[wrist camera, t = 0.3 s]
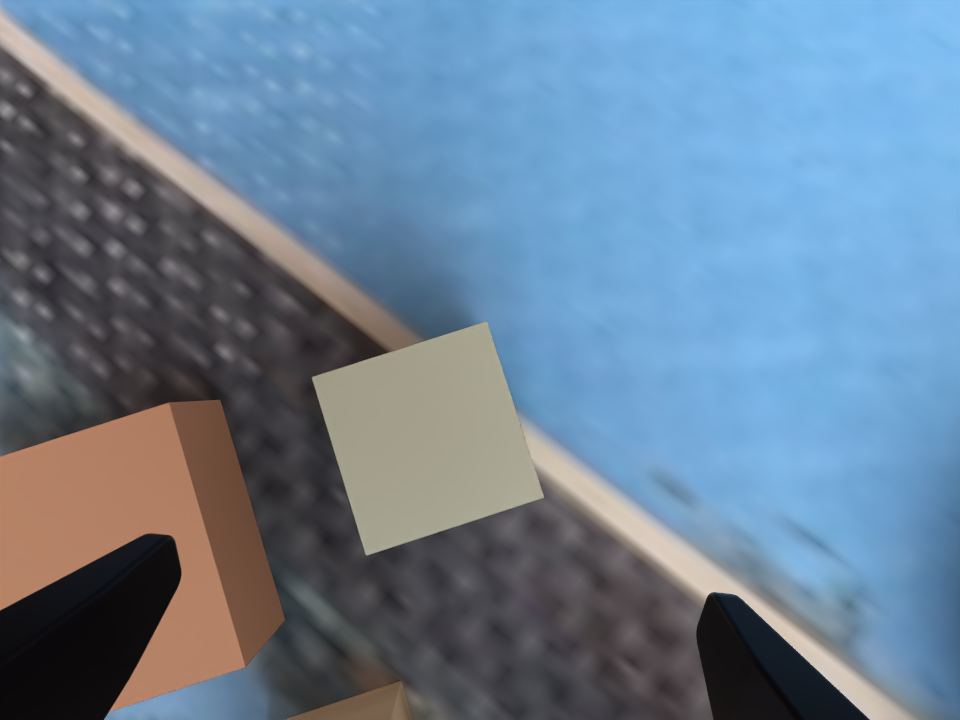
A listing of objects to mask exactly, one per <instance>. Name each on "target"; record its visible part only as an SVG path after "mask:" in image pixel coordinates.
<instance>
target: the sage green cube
mask: <svg viewBox="0 0 960 720" xmlns="http://www.w3.org/2000/svg"><path fill="white" fill-rule="evenodd" d="M312 380H313V383H314V386H315V390H316V393H317V396H318V399H319V403H320V406H321V409H322V413H323V416H324V419H325V422H326V426H327V429H328V432H329V436H330V439H331V442H332V445H333V449H334V452H335V455H336V459H337V462H338V465H339V468H340V472H341V475H342V478H343V481H344V485H345V488H346V491H347V495H348V498H349V501H350V504H351V508H352V511H353V514H354V518H355V521H356V524H357V527H358V531H359V534H360V537H361V541H362V544H363V547H364V550H365V554H366V556H367V555H370V554H373V553H376V552H379V551H382V550H385V549H388V548H391V547H394V546H397V545H400V544H403V543H407V542H410V541H413V540H416V539H419V538H422V537H425V536H428V535H431V534H434V533H437V532H440V531H443V530H446V529H449V528H452V527H455V526H459V525H462V524H465V523H468V522H471V521H474V520H477V519H480V518H483V517H486V516H489V515H492V514H495V513H498V512H501V511H504V510H507V509H511V508H514V507H517V506H520V505H523V504H526V503H529V502H532V501H535V500H538V499H541V498H544V496H543V493H542V490H541V487H540V483H539V480H538V477H537V474H536V471H535V468H534V465H533V462H532V459H531V456H530V453H529V450H528V446H527V443H526V440H525V437H524V434H523V431H522V428H521V425H520V422H519V419H518V416H517V413H516V409H515V406H514V403H513V400H512V397H511V394H510V391H509V388H508V385H507V382H506V379H505V376H504V372H503V369H502V366H501V363H500V360H499V357H498V354H497V351H496V348H495V345H494V342H493V339H492V335H491V332H490V329H489V326H488V323H487V321H486V322H483V323H480V324H477V325H473V326H470V327H467V328H464V329H461V330H458V331H455V332H452V333H448V334H445V335H442V336H439V337H436V338H433V339H430V340H427V341H423V342H420V343H417V344H414V345H411V346H408V347H405V348H402V349H398V350H395V351H392V352H389V353H386V354H383V355H380V356H377V357H374V358H370V359H367V360H364V361H361V362H358V363H355V364H352V365H349V366H345V367H342V368H339V369H336V370H333V371H330V372H327V373H324V374H320V375H317V376H314V377H312Z"/></svg>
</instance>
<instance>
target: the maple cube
mask: <svg viewBox="0 0 960 720" xmlns="http://www.w3.org/2000/svg"><path fill="white" fill-rule="evenodd" d="M284 720H413V719H412V715H411V712H410V709H409V706H408V702H407V699H406V696H405V693H404V689H403V686H402V683H401V681H399V682H396V683H393V684H390V685H387V686H384V687H381V688H378V689H375V690H372V691H369V692H366V693H363V694H360V695H357V696H354V697H351V698H348V699H345V700H342V701H339V702H336V703H333V704H330V705H327V706H324V707H321V708H318V709H315V710H312V711H309V712H306V713H303V714H300V715H297V716H294V717H291V718H288V719H284Z"/></svg>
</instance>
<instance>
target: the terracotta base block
mask: <svg viewBox="0 0 960 720" xmlns="http://www.w3.org/2000/svg"><path fill="white" fill-rule="evenodd" d="M148 533H155V534H164V535H170V536H172V537H173V538H174V539H175V542H176V546H177V551H178V555H179V560H180V565H181V570H182V575H181V581H180V584H179V586H178V588H177V590H176V592H175V594H174V596H173V598H172V600H171V602H170V604H169V606H168V608H167V609H166V611H165V613H164V615H163V617H162V619H161V621H160V623H159V625H158V627H157V629H156V630H155V632H154V634H153V636H152V638H151V640H150V642H149V644H148V646H147V648H146V650H145V652H144V653H143V655H142V657H141V659H140V661H139V663H138V665H137V667H136V668H135V670H134V672H133V674H132V676H131V677H130V679H129V681H128V682H127V684H126V686H125V687H124V689H123V690H122V692H121V694H120V695H119V697H118V698H117V700H116V702H115V703H114V705H113V706H112V708H111V709H110V711H109V712H111V711H114V710H117V709H120V708H123V707H126V706H129V705H132V704H135V703H138V702H141V701H144V700H147V699H150V698H153V697H156V696H159V695H162V694H166V693H169V692H172V691H175V690H178V689H181V688H184V687H187V686H190V685H193V684H196V683H199V682H202V681H205V680H208V679H211V678H214V677H217V676H220V675H223V674H226V673H230V672H233V671H236V670H239V669H242V668H245V667H246V666H247V665H248V664H249V663H250V661H251V660H252V659H253V658H254V657H255V655H256V654H257V653H258V652H259V651H260V649H261V648H262V647H263V646H264V645H265V643H266V642H267V641H268V640H269V639H270V637H271V636H272V635H273V634H274V633H275V631H276V630H277V629H278V628H279V627H280V625H281V624H282V623H283V622H284V621H285V617H284V614H283V610H282V607H281V604H280V600H279V597H278V594H277V590H276V587H275V583H274V580H273V577H272V573H271V570H270V567H269V563H268V560H267V556H266V553H265V550H264V546H263V543H262V539H261V536H260V533H259V529H258V526H257V523H256V519H255V516H254V512H253V509H252V506H251V502H250V499H249V495H248V492H247V489H246V485H245V482H244V479H243V475H242V472H241V468H240V465H239V462H238V458H237V455H236V451H235V448H234V445H233V441H232V438H231V435H230V431H229V428H228V424H227V421H226V418H225V414H224V411H223V408H222V404H221V401H220V400H206V401H188V402H170V403H166V404H163V405H160V406H157V407H153V408H150V409H147V410H144V411H141V412H138V413H135V414H132V415H129V416H125V417H122V418H119V419H116V420H113V421H110V422H107V423H104V424H100V425H97V426H94V427H91V428H88V429H85V430H82V431H79V432H75V433H72V434H69V435H66V436H63V437H60V438H57V439H54V440H50V441H47V442H44V443H41V444H38V445H35V446H32V447H29V448H25V449H22V450H19V451H16V452H13V453H10V454H7V455H4V456H0V610H2V609H4V608H5V607H7V606H9V605H11V604H13V603H15V602H17V601H19V600H21V599H23V598H24V597H26V596H28V595H30V594H32V593H34V592H36V591H38V590H40V589H41V588H43V587H45V586H47V585H49V584H51V583H53V582H55V581H57V580H59V579H60V578H62V577H64V576H66V575H68V574H70V573H72V572H74V571H76V570H77V569H79V568H81V567H83V566H85V565H87V564H89V563H91V562H93V561H95V560H96V559H98V558H100V557H102V556H104V555H106V554H108V553H110V552H112V551H114V550H115V549H117V548H119V547H121V546H123V545H125V544H127V543H129V542H131V541H132V540H134V539H136V538H138V537H140V536H142V535H144V534H148Z"/></svg>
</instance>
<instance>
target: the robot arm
mask: <svg viewBox="0 0 960 720" xmlns="http://www.w3.org/2000/svg"><path fill="white" fill-rule="evenodd" d="M181 575H182V570H181V565H180V560H179V555H178V551H177V546H176V542H175V539H174V538H173V537H172V536H170V535H164V534H155V533H148V534H144V535H142V536H140V537H138V538H136V539H134V540H132V541H131V542H129V543H127V544H125V545H123V546H121V547H119V548H117V549H115V550H114V551H112V552H110V553H108V554H106V555H104V556H102V557H100V558H98V559H96V560H95V561H93V562H91V563H89V564H87V565H85V566H83V567H81V568H79V569H77V570H76V571H74V572H72V573H70V574H68V575H66V576H64V577H62V578H60V579H59V580H57V581H55V582H53V583H51V584H49V585H47V586H45V587H43V588H41V589H40V590H38V591H36V592H34V593H32V594H30V595H28V596H26V597H24V598H23V599H21V600H19V601H17V602H15V603H13V604H11V605H9V606H7V607H5V608H4V609H2V610H0V720H104V719H105V717H106V716H107V714H108V713H109V711H110V709H111V708H112V706H113V705H114V703H115V702H116V700H117V698H118V697H119V695H120V694H121V692H122V690H123V689H124V687H125V686H126V684H127V682H128V681H129V679H130V677H131V676H132V674H133V672H134V670H135V668H136V667H137V665H138V663H139V661H140V659H141V657H142V655H143V653H144V652H145V650H146V648H147V646H148V644H149V642H150V640H151V638H152V636H153V634H154V632H155V630H156V629H157V627H158V625H159V623H160V621H161V619H162V617H163V615H164V613H165V611H166V609H167V608H168V606H169V604H170V602H171V600H172V598H173V596H174V594H175V592H176V590H177V588H178V586H179V584H180V581H181ZM696 637H697V644H698V649H699V654H700V658H701V663H702V668H703V672H704V677H705V682H706V687H707V691H708V696H709V701H710V705H711V710H712V715H713V719H714V720H870V719H868V718H867V717H866V716H865V715H864V714H863V713H862V712H861V711H860V710H859V709H858V708H857V707H856V706H855V705H854V704H853V703H851V702H850V701H849V700H848V699H847V698H846V697H845V696H844V695H843V694H842V693H841V692H840V691H839V690H838V689H837V688H835V687H834V686H833V685H832V684H831V683H830V682H829V681H828V680H827V679H826V678H825V677H824V676H823V675H822V674H821V673H820V672H818V671H817V670H816V669H815V668H814V667H813V666H812V665H811V664H810V663H809V662H808V661H807V660H806V659H805V658H804V657H803V656H801V655H800V654H799V653H798V652H797V651H796V650H795V649H794V648H793V647H792V646H791V645H790V644H789V643H788V642H787V641H785V640H784V639H783V638H782V637H781V636H780V635H779V634H778V633H777V632H776V631H775V630H774V629H773V628H772V627H771V626H770V625H768V624H767V623H766V622H765V621H764V620H763V619H762V618H761V617H760V616H759V615H758V614H757V613H756V612H755V611H754V610H753V609H751V608H750V607H749V606H748V605H747V604H746V603H745V602H744V601H743V600H742V599H741V598H739V597H738V596H736V595H733V594H725V593H716V592H713V593H710V594H709V595H708V597H707V599H706V602H705V605H704V608H703V611H702V614H701V617H700V620H699V622H698V626H697V632H696Z"/></svg>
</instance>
